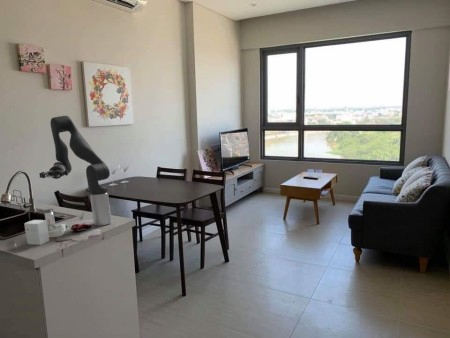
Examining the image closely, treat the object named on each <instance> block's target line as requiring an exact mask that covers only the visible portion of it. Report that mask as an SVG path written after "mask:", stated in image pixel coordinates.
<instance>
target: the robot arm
mask: <svg viewBox="0 0 450 338" xmlns="http://www.w3.org/2000/svg"><path fill="white" fill-rule="evenodd" d="M50 130H51V134H52V138H53V143H54V147H55V151H54V152H55V160H56V162H54V163H53V165H52V167H50V168H49V170H48V171H40V172H38V173H39V178H40V179H45V178H48V179H49V178H52V179H54V180H57V179H61V178H62V177H64V176H69V173H71V172H72V164H71V161H70V160H69V150H68V149H69V148H70V150H71V151H72V152H73V153H74V155H75V156H76V157H77V158H79V159H81V160H83V161H84V162H87V163H89V164H90V165H87V167H86V169H85V171H86V172H85V174H86V180H87V187H88V190H89V195H90V196H89V197H90V205H91V213H92V222H93V225H94V226H96V225H97V226H101V227H102V226H106V225H110V224H112V215H111V213H112V212H111V206H110V205H111V204H110V199H109V190H108V187H107V186H105V185H100V184H99V182H100V181H105V180H107V179H109V177H110V175H111V174H110V173H111V172H110V169H109V166H108V165H107V164H106V163H105V162H104V161H103V160H102V158H101V157H99V156H98V154H96V152H95V151H94V150H93V148H92V147H91V146H90V144H89V143H88V142H87V140H86V139H85V138H84V136H83V135H82V134H81V133H80V131H79V130H78V127H76V124H75V123H74V122H73V120H72V118H71V117H70V116H69V115H61V116H55V117H52V118H51V119H50ZM65 132H69V134H70V138H69V143H68V144H69V148H68V146H67V144H66V143H65V142H64V141H63V139H61V137H60V134H61V133H65ZM97 226H96V227H97Z"/></svg>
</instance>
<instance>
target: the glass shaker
mask: <svg viewBox="0 0 450 338" xmlns="http://www.w3.org/2000/svg"><path fill="white" fill-rule="evenodd" d="M43 214H44V217H45V218H44V220H46V222H47V228H48V231H55V230H56V226H55V225H56V221H55V214H54V209H53V208H48V209H44V210H43Z"/></svg>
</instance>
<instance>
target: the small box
mask: <svg viewBox="0 0 450 338" xmlns="http://www.w3.org/2000/svg"><path fill="white" fill-rule="evenodd" d="M23 224H24V231H25V236H26V243H27V245H35V246H36V245H38V246H41V245H43V244H45V243H48V242H50V238H49V235H48V228H47V222H46V219H44V220H43V219H32V220H29V221H27V222H25V223H23Z"/></svg>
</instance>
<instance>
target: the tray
mask: <svg viewBox="0 0 450 338" xmlns="http://www.w3.org/2000/svg"><path fill="white" fill-rule="evenodd" d="M55 226H56V230H55V231H48V235H49V239H50V238H57V237H62V236H63V235H64V233H65V232H66V223H61V224H55Z"/></svg>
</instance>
